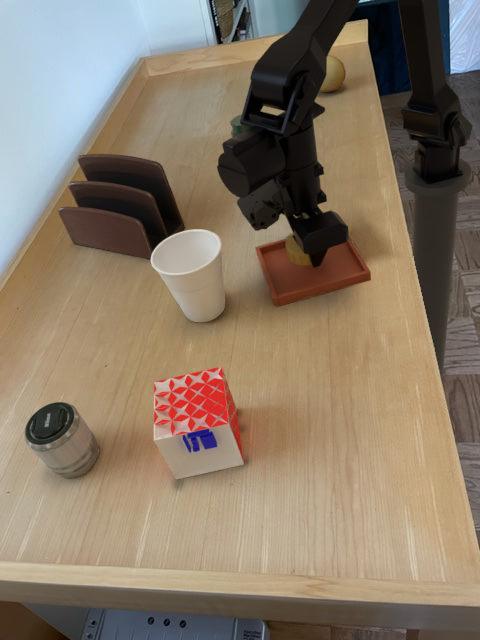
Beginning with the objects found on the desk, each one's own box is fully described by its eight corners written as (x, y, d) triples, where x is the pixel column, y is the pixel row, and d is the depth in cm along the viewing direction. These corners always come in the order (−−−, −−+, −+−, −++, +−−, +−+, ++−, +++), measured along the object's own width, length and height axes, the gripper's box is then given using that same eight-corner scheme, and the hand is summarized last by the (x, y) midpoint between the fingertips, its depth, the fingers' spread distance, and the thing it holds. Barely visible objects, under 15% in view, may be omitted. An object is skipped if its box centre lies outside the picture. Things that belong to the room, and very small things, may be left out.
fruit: (313, 87, 130) (309, 52, 124) (347, 82, 128) (345, 47, 122) (309, 100, 125) (305, 65, 119) (345, 96, 122) (343, 59, 117)
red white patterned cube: (236, 408, 65) (222, 366, 60) (244, 464, 59) (229, 423, 54) (173, 422, 65) (152, 382, 60) (174, 479, 60) (152, 440, 54)
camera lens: (102, 430, 67) (76, 391, 62) (100, 473, 62) (72, 436, 57) (54, 442, 67) (24, 405, 62) (48, 487, 62) (16, 450, 57)
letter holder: (105, 214, 106) (76, 148, 96) (186, 227, 96) (162, 155, 87) (72, 244, 100) (38, 177, 91) (154, 261, 91) (126, 188, 81)
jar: (264, 160, 108) (254, 109, 101) (270, 172, 104) (260, 120, 97) (237, 167, 108) (226, 117, 101) (242, 180, 104) (231, 129, 97)
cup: (162, 328, 78) (137, 270, 71) (190, 284, 84) (170, 226, 77) (222, 338, 74) (203, 278, 67) (248, 290, 80) (233, 230, 73)
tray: (341, 231, 86) (341, 223, 85) (371, 280, 77) (370, 271, 75) (256, 255, 86) (255, 247, 85) (275, 307, 77) (273, 298, 76)
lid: (280, 260, 80) (277, 248, 78) (300, 237, 83) (298, 224, 81) (316, 269, 76) (314, 257, 75) (335, 244, 80) (334, 232, 78)
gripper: (219, 150, 76) (241, 239, 86) (257, 213, 62) (277, 310, 72) (293, 126, 76) (306, 217, 87) (346, 183, 63) (354, 284, 73)
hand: (308, 254), depth 80 cm, fingers closed on lid, 6 cm apart
